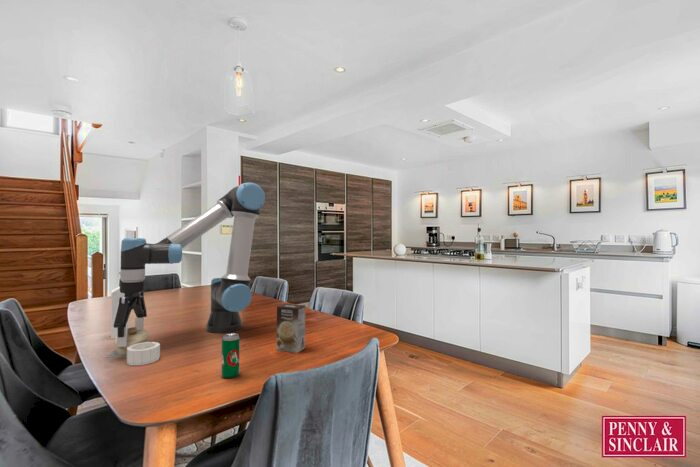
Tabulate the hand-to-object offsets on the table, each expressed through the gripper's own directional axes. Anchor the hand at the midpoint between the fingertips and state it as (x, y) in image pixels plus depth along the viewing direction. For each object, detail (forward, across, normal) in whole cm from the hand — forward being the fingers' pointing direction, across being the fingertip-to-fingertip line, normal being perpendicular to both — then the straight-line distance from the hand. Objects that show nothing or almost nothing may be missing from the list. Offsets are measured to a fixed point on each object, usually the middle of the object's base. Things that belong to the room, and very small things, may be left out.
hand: (130, 340), depth 120 cm
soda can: (+4, +28, +38) cm, 47 cm away
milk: (+4, -21, -13) cm, 25 cm away
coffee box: (+4, +7, +56) cm, 57 cm away
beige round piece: (+4, 0, 0) cm, 4 cm away
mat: (+4, 0, 0) cm, 4 cm away
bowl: (+4, +11, +8) cm, 14 cm away
